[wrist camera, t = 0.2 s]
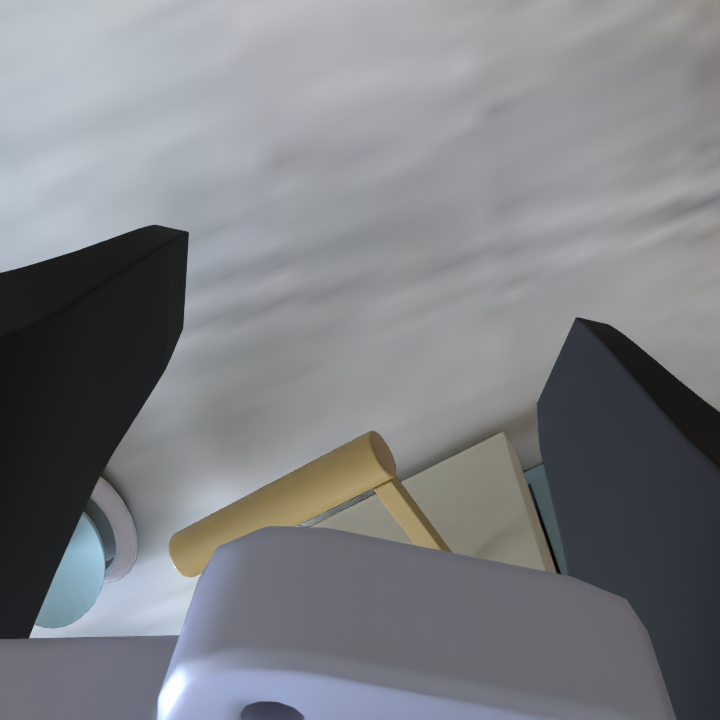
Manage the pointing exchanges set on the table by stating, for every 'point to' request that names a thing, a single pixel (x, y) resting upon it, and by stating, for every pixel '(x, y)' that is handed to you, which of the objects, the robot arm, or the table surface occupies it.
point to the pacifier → (90, 561)
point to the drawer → (391, 505)
